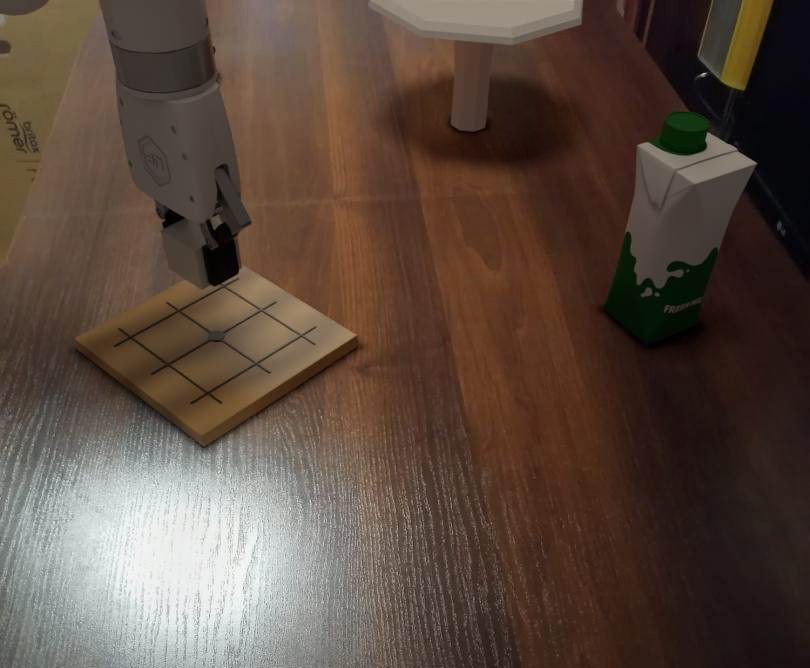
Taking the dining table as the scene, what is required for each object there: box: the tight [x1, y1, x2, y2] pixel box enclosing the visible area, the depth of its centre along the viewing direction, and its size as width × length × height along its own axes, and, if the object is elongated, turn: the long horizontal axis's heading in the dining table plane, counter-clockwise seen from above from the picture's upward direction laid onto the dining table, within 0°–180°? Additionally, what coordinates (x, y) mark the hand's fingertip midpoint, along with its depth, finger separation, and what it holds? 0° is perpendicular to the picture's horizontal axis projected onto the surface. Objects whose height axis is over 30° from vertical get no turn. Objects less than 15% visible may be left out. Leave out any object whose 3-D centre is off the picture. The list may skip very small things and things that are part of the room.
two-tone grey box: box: [160, 216, 243, 290], centre depth 79 cm, size 5×5×4 cm
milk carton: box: [603, 110, 758, 346], centre depth 84 cm, size 9×9×20 cm
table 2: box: [367, 0, 584, 132], centre depth 112 cm, size 28×28×17 cm
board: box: [73, 264, 359, 448], centre depth 87 cm, size 20×20×2 cm
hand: (204, 265), depth 80 cm, fingers closed on two-tone grey box, 4 cm apart
